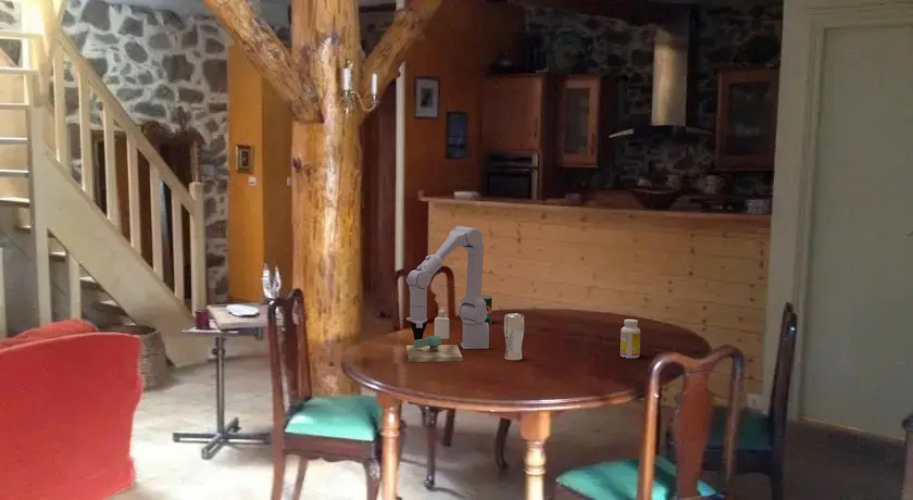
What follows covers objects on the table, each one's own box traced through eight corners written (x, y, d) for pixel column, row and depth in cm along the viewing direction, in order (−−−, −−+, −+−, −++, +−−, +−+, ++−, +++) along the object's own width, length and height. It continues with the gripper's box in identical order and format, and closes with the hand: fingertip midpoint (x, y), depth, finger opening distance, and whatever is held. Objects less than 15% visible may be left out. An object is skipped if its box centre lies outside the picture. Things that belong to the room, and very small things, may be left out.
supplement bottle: (640, 355, 306) (642, 319, 304) (638, 359, 300) (639, 322, 298) (621, 353, 308) (622, 317, 307) (618, 357, 302) (619, 321, 300)
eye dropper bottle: (444, 340, 326) (444, 308, 324) (432, 338, 329) (432, 307, 328) (451, 338, 329) (451, 307, 328) (439, 336, 332) (439, 305, 331)
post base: (456, 348, 313) (456, 339, 312) (462, 361, 295) (462, 351, 294) (406, 349, 311) (406, 339, 310) (408, 361, 293) (409, 351, 293)
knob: (434, 342, 306) (434, 334, 306) (443, 344, 302) (444, 337, 302) (410, 346, 299) (410, 339, 298) (419, 349, 295) (419, 341, 295)
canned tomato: (473, 320, 363) (474, 294, 362) (492, 321, 362) (492, 295, 361) (471, 324, 355) (471, 298, 354) (490, 325, 354) (491, 298, 353)
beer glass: (509, 361, 295) (510, 317, 293) (499, 357, 301) (500, 314, 299) (527, 359, 298) (528, 316, 296) (516, 355, 304) (517, 312, 303)
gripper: (405, 301, 305) (405, 339, 307) (407, 309, 291) (407, 349, 292) (426, 301, 306) (425, 339, 307) (428, 309, 291) (428, 349, 293)
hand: (418, 344), depth 300 cm, fingers closed, pressing on knob
